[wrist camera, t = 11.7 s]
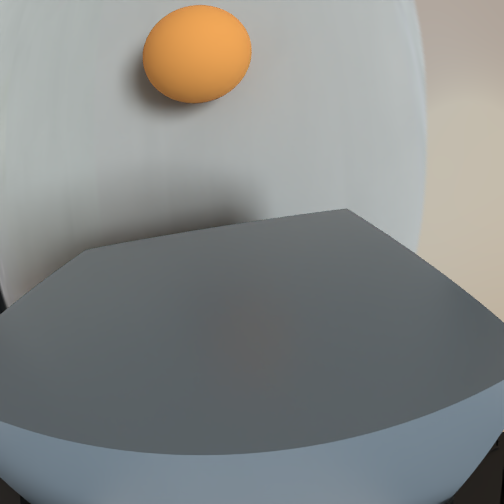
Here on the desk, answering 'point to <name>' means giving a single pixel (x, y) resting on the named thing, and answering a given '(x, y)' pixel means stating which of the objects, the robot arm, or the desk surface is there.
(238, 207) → the desk surface
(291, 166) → the desk surface
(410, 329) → the grey-blue box
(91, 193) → the desk surface
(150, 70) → the ball
